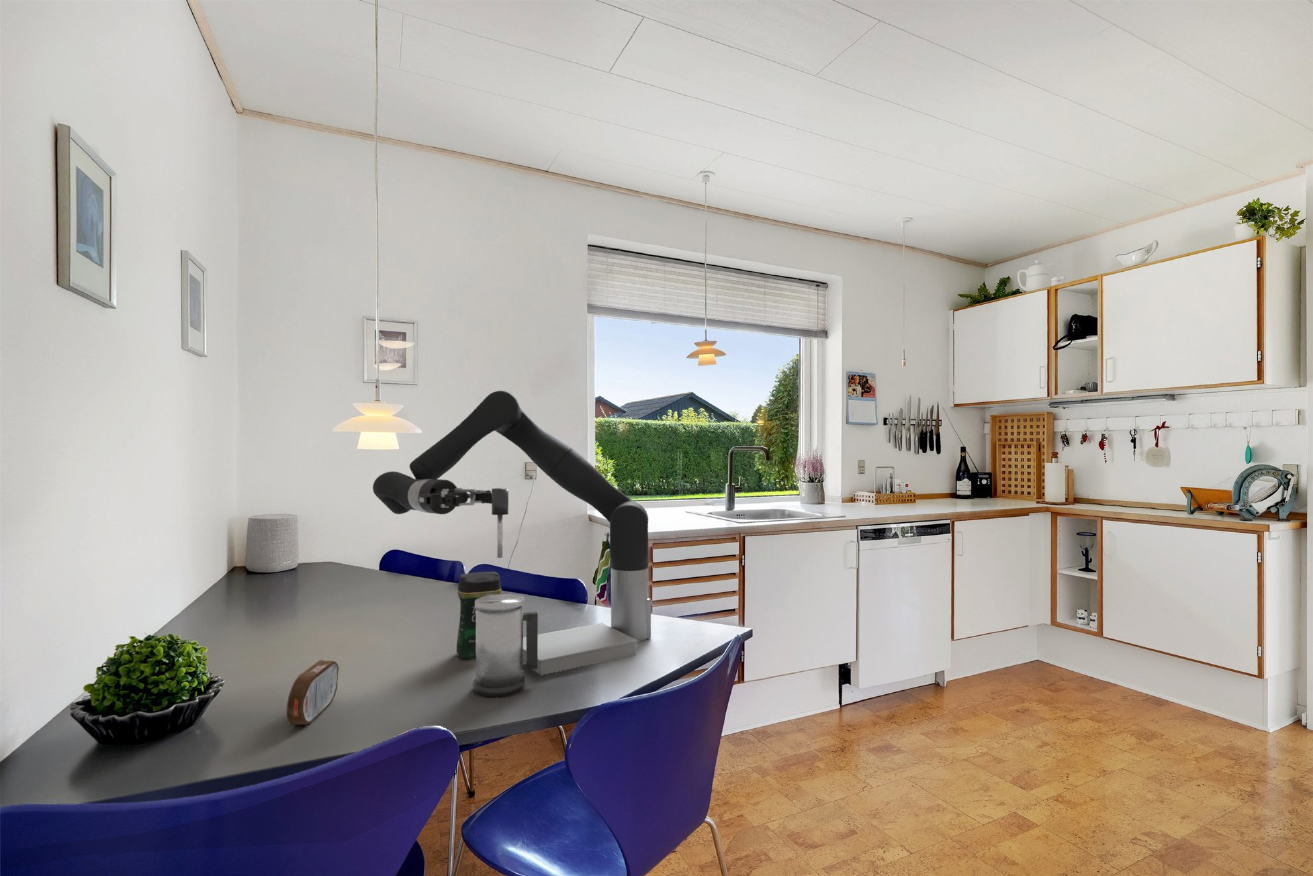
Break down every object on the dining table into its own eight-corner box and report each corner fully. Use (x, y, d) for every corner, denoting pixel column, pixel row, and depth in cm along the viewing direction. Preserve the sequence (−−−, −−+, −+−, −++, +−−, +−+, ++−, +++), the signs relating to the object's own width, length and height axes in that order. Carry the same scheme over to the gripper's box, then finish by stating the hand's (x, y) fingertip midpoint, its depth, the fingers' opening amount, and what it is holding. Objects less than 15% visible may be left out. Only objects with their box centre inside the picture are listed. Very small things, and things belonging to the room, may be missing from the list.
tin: (324, 698, 119) (324, 653, 119) (341, 697, 119) (341, 652, 119) (284, 734, 104) (284, 683, 104) (304, 733, 104) (304, 682, 104)
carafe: (532, 674, 131) (532, 591, 131) (541, 691, 122) (541, 602, 122) (471, 682, 127) (471, 596, 127) (475, 700, 117) (476, 608, 118)
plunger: (507, 555, 126) (507, 488, 126) (509, 558, 123) (509, 489, 123) (490, 556, 125) (490, 488, 125) (492, 559, 122) (492, 489, 122)
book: (638, 640, 143) (539, 660, 130) (638, 657, 143) (539, 679, 130) (599, 621, 158) (507, 638, 145) (599, 637, 158) (507, 654, 145)
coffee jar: (459, 663, 138) (460, 577, 138) (454, 652, 145) (454, 571, 145) (504, 656, 142) (504, 573, 142) (496, 646, 149) (496, 567, 150)
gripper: (402, 480, 134) (445, 483, 124) (461, 477, 145) (504, 479, 135) (402, 515, 134) (445, 521, 124) (461, 510, 145) (504, 515, 135)
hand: (476, 499), depth 129 cm, fingers open, 8 cm apart
